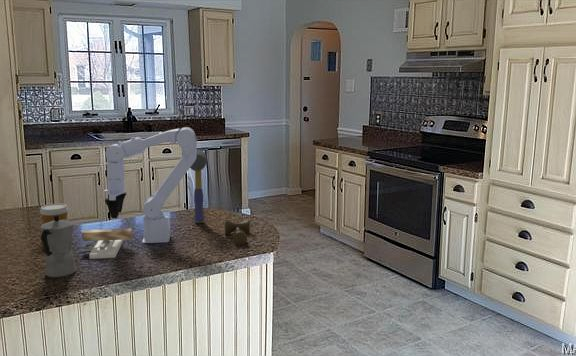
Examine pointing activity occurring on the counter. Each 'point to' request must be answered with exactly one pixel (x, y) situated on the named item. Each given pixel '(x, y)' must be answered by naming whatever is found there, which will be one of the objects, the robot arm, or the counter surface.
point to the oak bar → (106, 234)
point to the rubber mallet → (199, 185)
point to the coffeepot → (58, 247)
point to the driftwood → (89, 246)
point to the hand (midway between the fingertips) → (116, 215)
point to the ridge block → (106, 249)
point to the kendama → (238, 231)
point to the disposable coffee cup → (53, 212)
